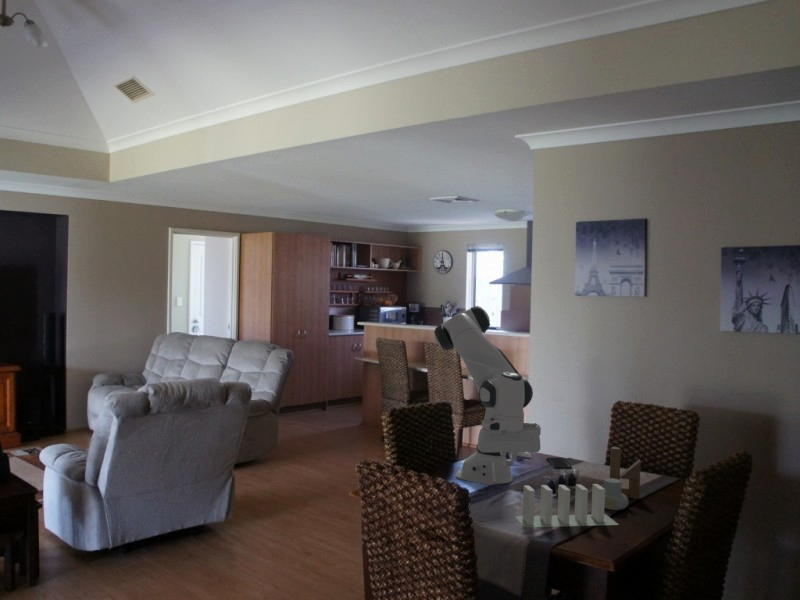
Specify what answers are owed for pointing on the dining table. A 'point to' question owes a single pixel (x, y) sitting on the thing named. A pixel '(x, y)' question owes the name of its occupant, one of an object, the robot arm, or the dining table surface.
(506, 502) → the dining table surface
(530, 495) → the domino
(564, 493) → the domino
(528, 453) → the sitting furry creature
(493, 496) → the dining table surface
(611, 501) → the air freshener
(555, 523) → the domino board
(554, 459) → the phone
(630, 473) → the wooden block
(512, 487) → the dining table surface
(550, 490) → the domino
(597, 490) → the domino
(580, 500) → the domino
